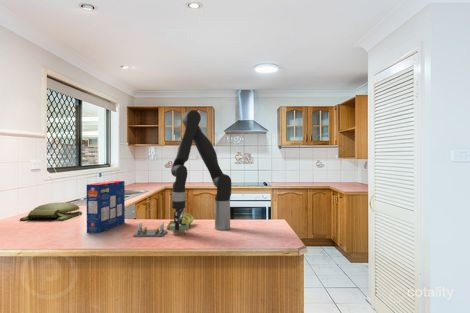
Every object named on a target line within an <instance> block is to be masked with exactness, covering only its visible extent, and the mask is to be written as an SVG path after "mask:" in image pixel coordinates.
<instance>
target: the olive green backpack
mask: <svg viewBox="0 0 470 313" xmlns="http://www.w3.org/2000/svg"><path fill="white" fill-rule="evenodd" d="M65 213H69V214H65ZM82 214H83V212H82V211H80V207H79V205H78V204H75V203H70V202H51V203H45V204H42V205H38V206H37V207H34V209H32V210H30V212H29V213H28V214H27V215H26V216H23V217H20V219H19V221H21V222H26V221H29V220H33V219H37V218H41V219H43V218H44V219H45V218H57V220H56V221H58V222H65V221H66V220H70V219H71V218H74V217H77V216H80V215H82Z"/></svg>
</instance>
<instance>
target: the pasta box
mask: <svg viewBox="0 0 470 313" xmlns="http://www.w3.org/2000/svg"><path fill="white" fill-rule="evenodd" d="M125 191H126V189H125V180H109V181H104V182H96V183H89V184H88V183H87V184H86V233H88V234H89V233H91V234H100V233H101V234H102V233H103V232H105V231H108V230H111V229H113V228H116V227H118V226H120V225H123V224H124V225H125V223H126V221H125V217H126V215H125V214H126V213H125V212H126V211H125V199H126V198H125V197H126V195H125V193H126V192H125Z"/></svg>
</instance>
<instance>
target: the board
mask: <svg viewBox="0 0 470 313" xmlns="http://www.w3.org/2000/svg"><path fill="white" fill-rule="evenodd" d="M189 228H190V225H189V224H186V223H182V224H179V230H185V231H187V230H188V229H189ZM168 230H171V231H173V230H175V224H171V225H170V226H169V229H168Z"/></svg>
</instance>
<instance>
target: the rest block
mask: <svg viewBox="0 0 470 313" xmlns="http://www.w3.org/2000/svg"><path fill="white" fill-rule="evenodd" d="M172 233H173V234H172V235H176V236H177V235H185V233H186V230H172Z"/></svg>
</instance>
